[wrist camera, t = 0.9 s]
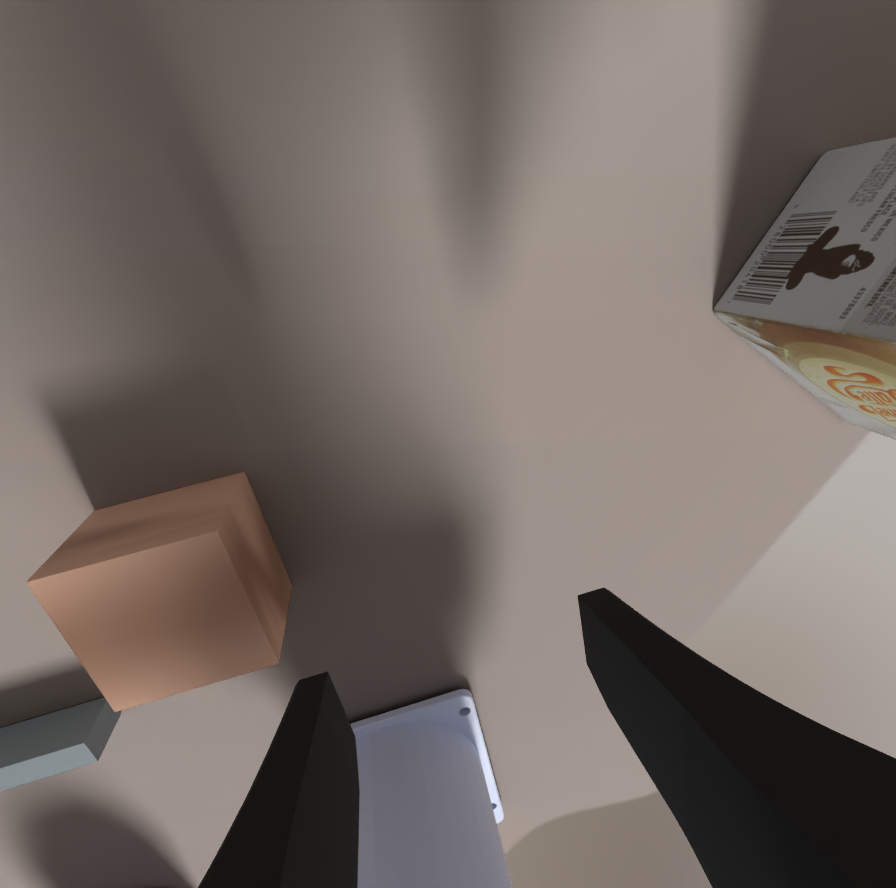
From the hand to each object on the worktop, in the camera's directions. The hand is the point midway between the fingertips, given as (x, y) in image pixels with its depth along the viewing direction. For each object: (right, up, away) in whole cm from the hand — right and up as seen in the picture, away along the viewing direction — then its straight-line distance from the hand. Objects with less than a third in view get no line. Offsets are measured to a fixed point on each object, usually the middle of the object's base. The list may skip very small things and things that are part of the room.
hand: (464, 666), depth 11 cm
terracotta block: (-9, +1, +7) cm, 12 cm away
